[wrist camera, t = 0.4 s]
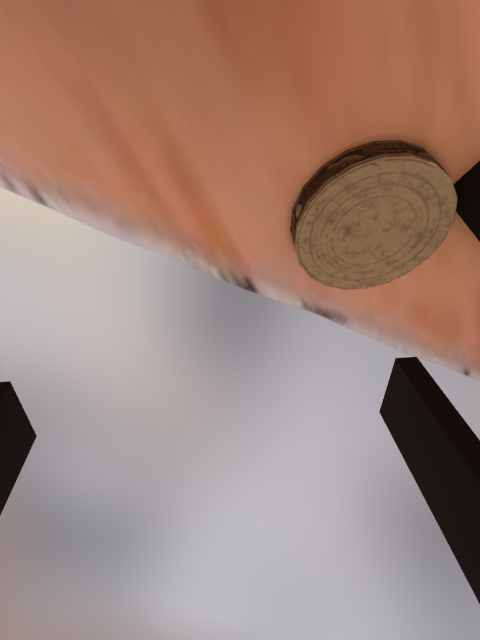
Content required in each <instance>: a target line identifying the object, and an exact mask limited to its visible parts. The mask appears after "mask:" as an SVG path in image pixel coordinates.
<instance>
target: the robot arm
mask: <svg viewBox="0 0 480 640" xmlns="http://www.w3.org/2000/svg"><path fill="white" fill-rule="evenodd" d="M380 414H381V416H382V418H383V420H384V422H385V423H386V425H387V427H388V429H389V431H390V433H391V435H392V437H393V439H394V441H395V443H396V444H397V446H398V448H399V450H400V452H401V454H402V456H403V458H404V460H405V462H406V464H407V466H408V468H409V469H410V471H411V473H412V475H413V477H414V479H415V481H416V483H417V485H418V487H419V489H420V490H421V492H422V494H423V496H424V498H425V500H426V502H427V504H428V506H429V508H430V509H431V511H432V513H433V515H434V517H435V519H436V521H437V523H438V525H439V527H440V529H441V531H442V532H443V535H444V536H445V538H446V540H447V542H448V544H449V546H450V548H451V550H452V552H453V554H454V555H455V557H456V559H457V561H458V563H459V565H460V567H461V569H462V571H463V573H464V575H465V577H466V579H467V580H468V582H469V584H470V586H471V588H472V590H473V592H474V594H475V596H476V598H477V600H478V602H479V603H480V440H479V439H478V438H477V436H476V435H475V434H474V432H473V431H472V430H471V428H470V427H469V426H468V424H467V423H466V422H465V420H464V419H463V418H462V417H461V415H460V414H459V413H458V411H457V410H456V409H455V407H454V406H453V405H452V403H451V402H450V401H449V399H448V398H447V397H446V395H445V394H444V393H443V391H442V390H441V389H440V387H439V386H438V385H437V383H436V382H435V381H434V379H433V378H432V377H431V376H430V374H429V373H428V371H427V370H426V369H425V367H424V366H423V365H422V364H421V362H420V361H419V360H418V358H417V357H409V358H396V359H395V362H394V366H393V369H392V372H391V375H390V379H389V383H388V386H387V389H386V392H385V396H384V399H383V402H382V406H381V409H380ZM35 438H36V434H35V432H34V430H33V428H32V426H31V424H30V422H29V419H28V417H27V415H26V413H25V411H24V409H23V407H22V405H21V403H20V401H19V399H18V397H17V395H16V393H15V391H14V388H13V387H12V384H11V382H0V515H1V512H2V510H3V508H4V506H5V504H6V502H7V499H8V497H9V495H10V493H11V491H12V488H13V486H14V484H15V482H16V480H17V478H18V475H19V473H20V471H21V469H22V467H23V465H24V462H25V460H26V458H27V456H28V454H29V452H30V449H31V447H32V445H33V443H34V441H35Z"/></svg>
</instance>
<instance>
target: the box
mask: <svg viewBox="0 0 480 640" xmlns="http://www.w3.org/2000/svg"><path fill="white" fill-rule="evenodd" d="M454 188H455V192H456V195H457V198H458V199H457V206H456V212H457V213H458V214H459V216H460V217H461V218H462V220H463V221H464V222H465V223H466V225H467V226H468V227H469V228H470V230H471V231H472V232H473V234H474V235H475V236H476V237H477V239H478V240H479V241H480V161H479V162H478V163H477V164H476V165H475V166H474V167H473V168H472V169H471V170H469V171H468V172H467V173H466V174H465V175H464V176H463V177H462V178H461V179H460V180H458V181H457V182H456V183H455V184H454Z"/></svg>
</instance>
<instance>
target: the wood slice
mask: <svg viewBox="0 0 480 640" xmlns="http://www.w3.org/2000/svg"><path fill="white" fill-rule="evenodd" d="M457 199H458V198H457V195H456V192H455V188H454V185H453V182H452V179H451V178H450V177H449V175H448V174H447V173H446V172H445V171H444V170H443V168H442V167H441V166H440V165H439V164H438V163H437V162H436V161H435V160H434V159H433V158H432V157H431V156H430V155H429V154H428V153H427V152H426V151H425V150H424V149H423V148H420V147H418V146H415V145H412V144H409V143H406V142H403V141H375V142H371V143H368V144H365V145H362V146H359V147H356V148H353V149H350V150H347V151H345V152H343V153H342V154H340V155H339V156H337V157H336V158H334V159H333V160H331V161H330V162H328V163H327V164H325V165H324V166H322V167H321V168H320V169H319V170H318V171H317V173H316V174H315V175H314V176H313V177H312V178H311V179H310V180H309V182H308V183H307V184H306V185H305V186H304V187H303V189H302V191H301V193H300V195H299V197H298V199H297V201H296V203H295V206H294V208H293V212H292V220H291V228H290V230H291V234H292V238H293V242H294V246H295V249H296V253H297V257H298V260H299V264H300V265H301V267H302V268H303V269H304V270H305V271H306V273H307V274H308V275H309V276H310V277H311V278H313V279H314V280H316V281H318V282H320V283H322V284H323V285H325V286H330V287H334V288H339V289H344V290H345V289H366V288H369V287H373V286H377V285H381V284H385V283H388V282H390V281H392V280H394V279H396V278H398V277H400V276H403V275H405V274H407V273H409V272H410V271H411V270H413V269H414V268H416V267H417V266H418V265H420V264H421V263H422V262H424V261H425V260H426V259H428V258H429V257H430V255H431V254H432V253H433V252H434V251H435V250H436V249H437V248H438V246H439V245H440V244H441V243H442V242H443V241H444V239H445V237H446V235H447V233H448V232H449V230H450V228H451V226H452V224H453V222H454V220H455V213H456V206H457Z"/></svg>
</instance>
